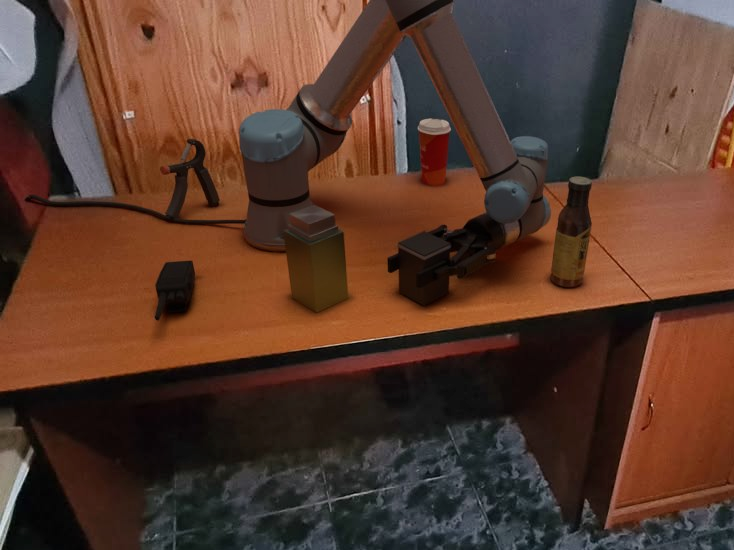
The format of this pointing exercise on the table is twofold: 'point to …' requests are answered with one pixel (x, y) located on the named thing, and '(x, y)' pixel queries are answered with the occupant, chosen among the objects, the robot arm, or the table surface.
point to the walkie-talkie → (174, 286)
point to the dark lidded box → (422, 266)
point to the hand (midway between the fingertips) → (403, 273)
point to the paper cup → (433, 150)
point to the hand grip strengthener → (181, 179)
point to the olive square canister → (316, 258)
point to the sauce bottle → (572, 235)
